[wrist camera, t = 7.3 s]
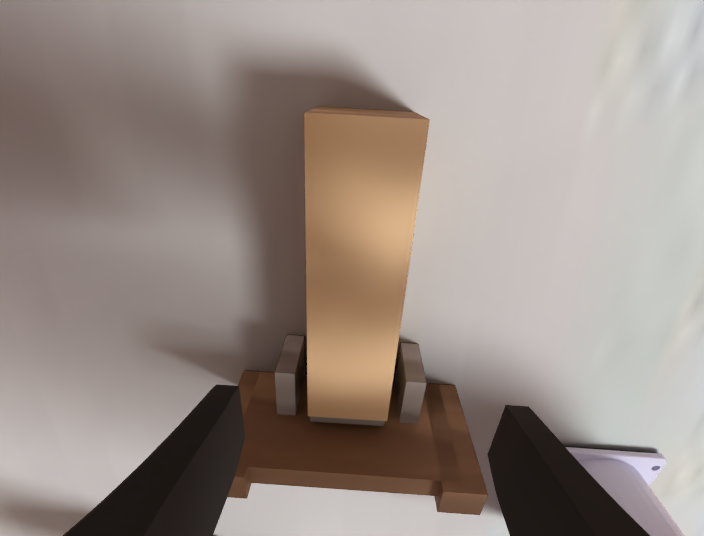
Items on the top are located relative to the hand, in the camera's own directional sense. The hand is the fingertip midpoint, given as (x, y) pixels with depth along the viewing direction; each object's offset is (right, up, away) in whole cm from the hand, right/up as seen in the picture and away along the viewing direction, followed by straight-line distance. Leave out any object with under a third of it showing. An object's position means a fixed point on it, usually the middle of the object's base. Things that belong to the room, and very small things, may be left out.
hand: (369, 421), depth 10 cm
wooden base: (-1, -2, +11) cm, 12 cm away
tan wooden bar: (0, +5, +8) cm, 10 cm away
